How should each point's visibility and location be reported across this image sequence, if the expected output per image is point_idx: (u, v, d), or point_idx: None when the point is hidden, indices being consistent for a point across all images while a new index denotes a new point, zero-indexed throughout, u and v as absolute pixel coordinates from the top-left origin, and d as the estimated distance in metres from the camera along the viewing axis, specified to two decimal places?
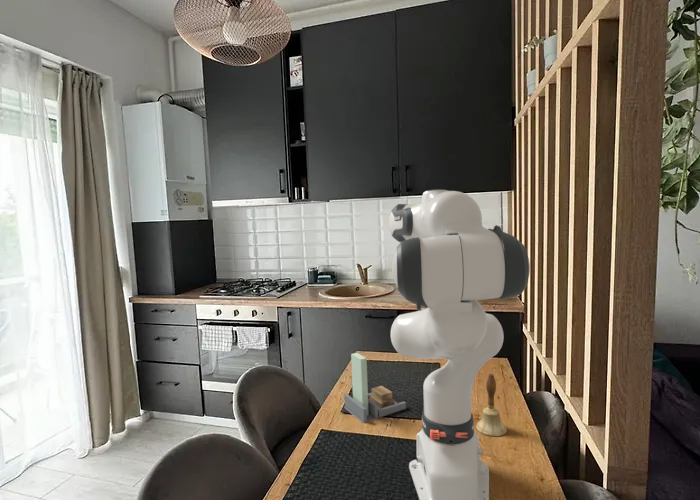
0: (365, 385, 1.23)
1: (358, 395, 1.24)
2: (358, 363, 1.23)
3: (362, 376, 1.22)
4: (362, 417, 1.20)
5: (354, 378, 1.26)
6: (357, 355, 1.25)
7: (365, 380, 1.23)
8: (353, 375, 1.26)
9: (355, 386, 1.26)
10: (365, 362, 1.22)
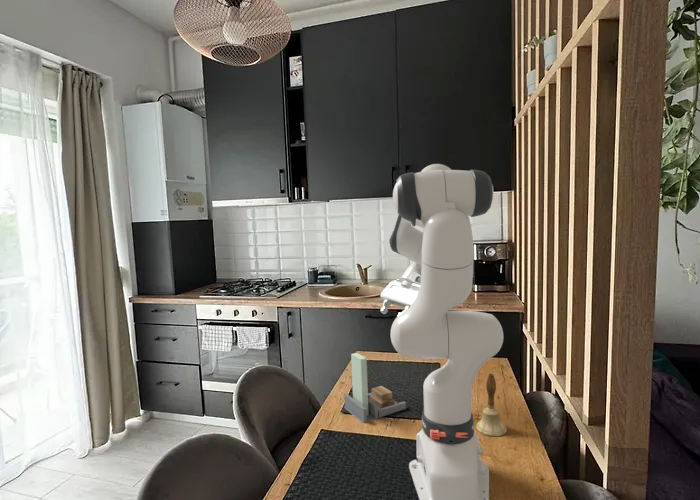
0: (365, 385, 1.23)
1: (358, 395, 1.24)
2: (358, 363, 1.23)
3: (362, 376, 1.22)
4: (362, 417, 1.20)
5: (354, 378, 1.26)
6: (357, 355, 1.25)
7: (365, 380, 1.23)
8: (353, 375, 1.26)
9: (355, 386, 1.26)
10: (365, 362, 1.22)
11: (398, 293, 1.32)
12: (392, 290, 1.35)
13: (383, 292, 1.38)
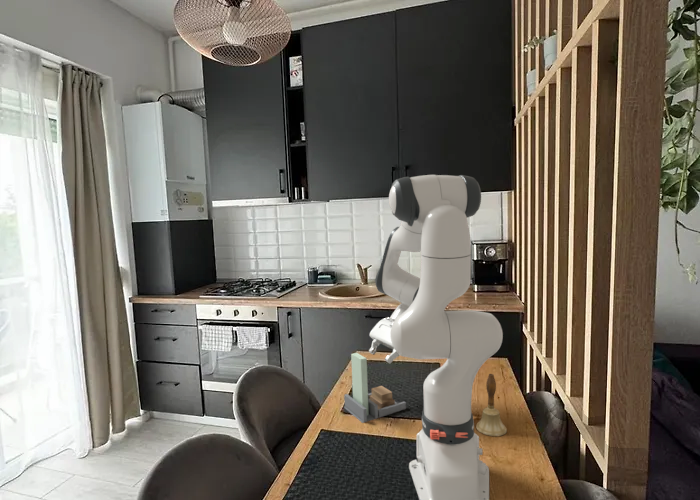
0: (365, 385, 1.23)
1: (358, 395, 1.24)
2: (358, 363, 1.23)
3: (362, 376, 1.22)
4: (362, 417, 1.20)
5: (354, 378, 1.26)
6: (357, 355, 1.25)
7: (365, 380, 1.23)
8: (353, 375, 1.26)
9: (355, 386, 1.26)
10: (365, 362, 1.22)
11: (387, 334, 1.30)
12: (381, 330, 1.34)
13: (372, 331, 1.37)
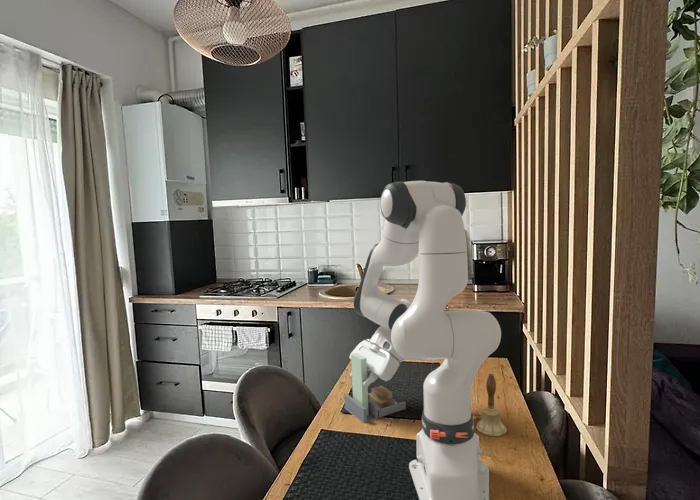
0: None
1: (358, 395, 1.24)
2: (358, 363, 1.23)
3: (361, 376, 1.22)
4: (362, 417, 1.20)
5: (354, 378, 1.26)
6: (357, 355, 1.25)
7: None
8: (353, 375, 1.26)
9: (355, 386, 1.26)
10: (365, 362, 1.22)
11: (366, 358, 1.27)
12: (361, 353, 1.31)
13: (352, 353, 1.34)
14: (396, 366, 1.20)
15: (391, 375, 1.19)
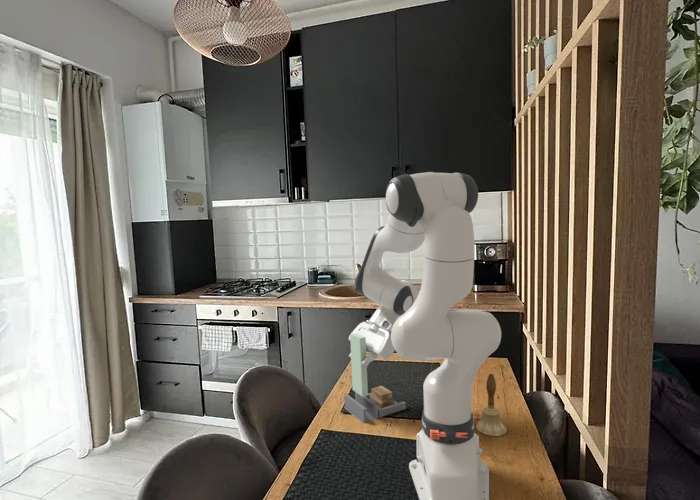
0: None
1: (357, 375, 1.24)
2: (357, 342, 1.22)
3: (361, 355, 1.21)
4: (362, 417, 1.20)
5: (353, 358, 1.25)
6: (356, 335, 1.24)
7: None
8: (352, 355, 1.26)
9: (354, 366, 1.25)
10: (364, 341, 1.22)
11: None
12: (360, 333, 1.30)
13: None
14: None
15: (390, 353, 1.18)
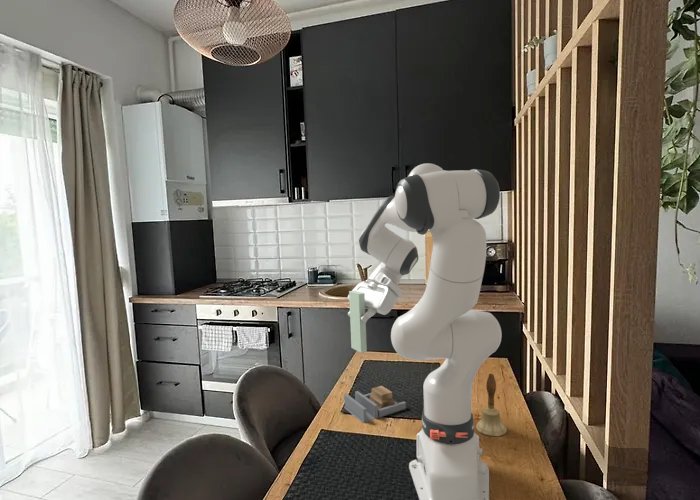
0: None
1: (356, 332, 1.23)
2: (356, 299, 1.22)
3: (359, 311, 1.21)
4: (362, 417, 1.20)
5: (352, 315, 1.25)
6: (355, 292, 1.23)
7: None
8: (351, 312, 1.25)
9: (353, 324, 1.24)
10: (363, 297, 1.21)
11: None
12: None
13: None
14: (394, 300, 1.19)
15: (389, 308, 1.17)
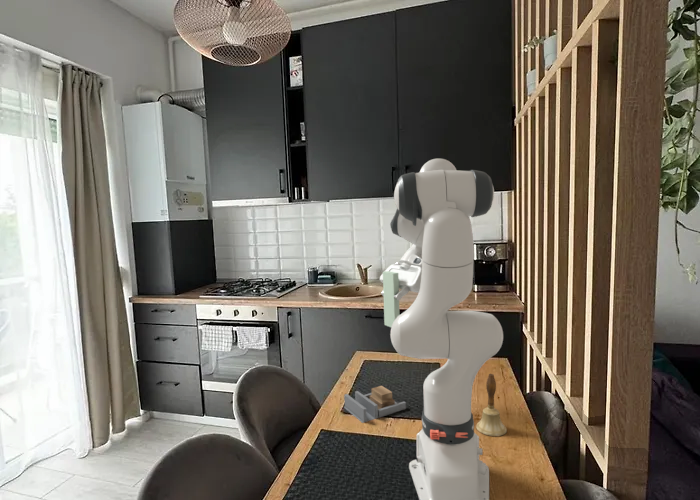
0: None
1: (390, 309, 1.31)
2: (390, 278, 1.30)
3: (394, 290, 1.29)
4: (362, 417, 1.20)
5: (386, 294, 1.33)
6: (389, 272, 1.32)
7: None
8: (385, 291, 1.33)
9: (386, 302, 1.33)
10: (397, 276, 1.29)
11: None
12: None
13: (382, 275, 1.40)
14: None
15: None
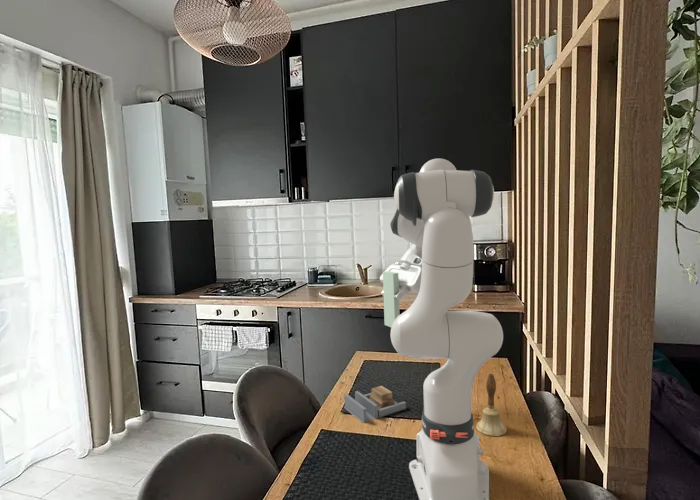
0: None
1: (390, 309, 1.31)
2: (390, 278, 1.30)
3: (394, 290, 1.29)
4: (362, 417, 1.20)
5: (386, 294, 1.33)
6: (389, 272, 1.32)
7: None
8: (385, 291, 1.33)
9: (386, 302, 1.33)
10: (397, 276, 1.29)
11: None
12: None
13: (382, 275, 1.40)
14: None
15: None
